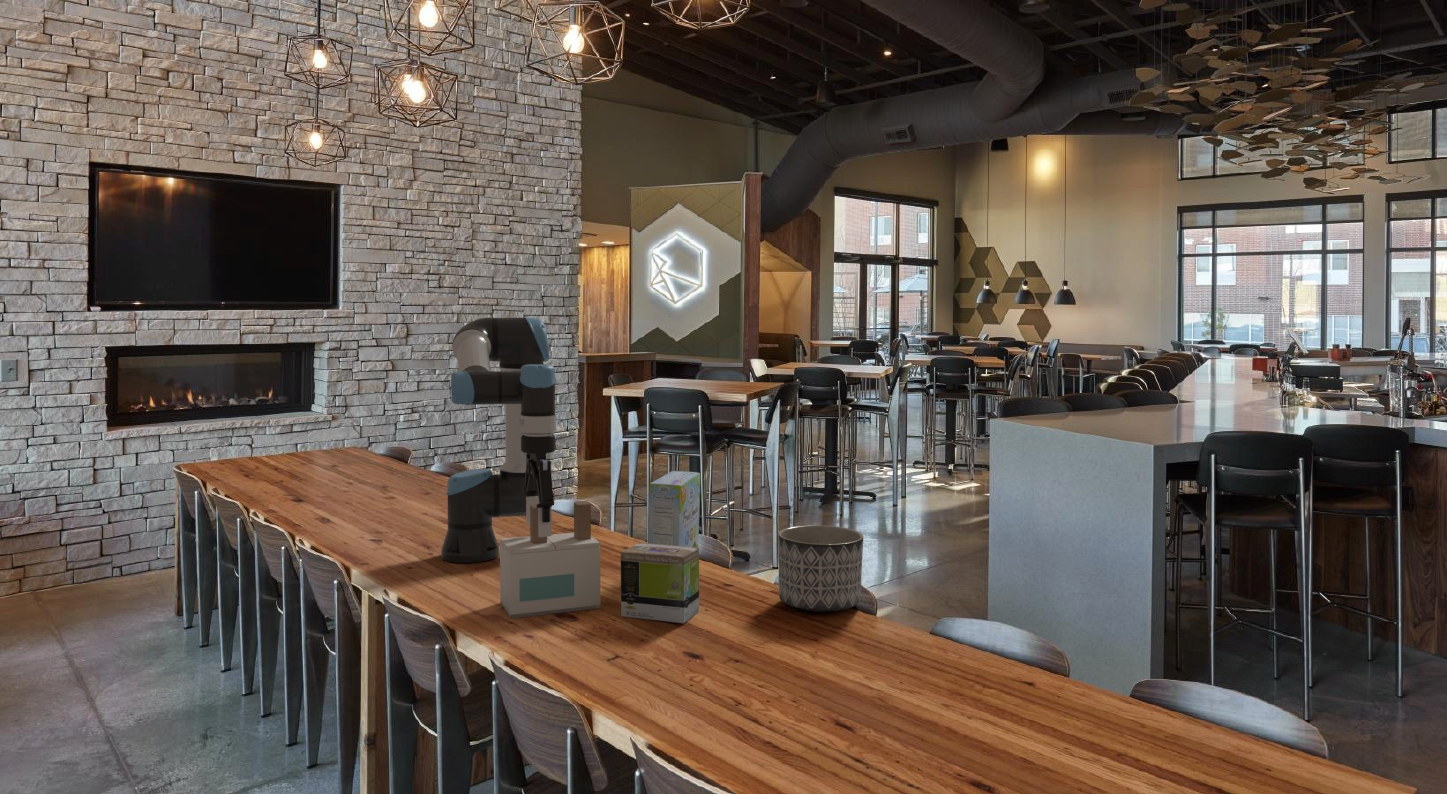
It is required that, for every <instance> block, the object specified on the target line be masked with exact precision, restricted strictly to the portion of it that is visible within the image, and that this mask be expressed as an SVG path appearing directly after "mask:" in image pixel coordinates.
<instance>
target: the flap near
mask: <svg viewBox="0 0 1447 794" xmlns="http://www.w3.org/2000/svg"><path fill="white" fill-rule="evenodd" d="M536 506H537V505H530V525H529V526H530V527H529V531H530V532H529V536H518V537H517V536H516V537H515V536H514V537H505V538H504V537H503V538H499V539H500V542H501V543H502V545H503V546H504V547H505V548H506V549H507V551H508V552H509V553H510V554H516V553H528V552H539V551H551V550H555V546H554V545H553V544H552V543H551V542H550V541H549V540H548V539H547V537H538V508H537V507H536Z"/></svg>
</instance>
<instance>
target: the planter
mask: <svg viewBox="0 0 1447 794" xmlns="http://www.w3.org/2000/svg"><path fill="white" fill-rule="evenodd" d="M777 537H778V538H777V540H778V541H777V543H778V544H777V545H778V546H777V547H778V552H777V553H778V557H777V558H778V597H779V600H780V601H781V602H783V603H784V604H786V606H790V607H792V608H795V609H800V610H804V611H807V612H813V613H831V612H832V613H833V612H837V611H842V610H847V609H851V608H853V607H855V606H857V605H858V604H859V602H860V601H861V593H862V591H861V590H862V571H863V569H862V568H863V552H864V551H863V549H864V535H863V533H861V532H859V531H857V530H855V529H852V528H846V527H843V526H834V525H824V524H823V525H822V524H821V525H820V524H814V525H813V524H812V525H808V524H807V525H796V526H795V525H794V526H789V527H786V528H783V529H780V530H779V531H778V533H777Z"/></svg>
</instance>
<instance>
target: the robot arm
mask: <svg viewBox="0 0 1447 794" xmlns="http://www.w3.org/2000/svg"><path fill="white" fill-rule="evenodd" d="M451 347H452V352H453V355H454V358H456V360H457V370H458V371H453V372H451V374H450V401H451V403H452V404H454V405H463V406H464V405H465V406H474V405H477V406H478V405H482V406H483V405H504V406H505V413H504V414H505V416H504V417H505V462H504V463H502V464H501V465H500V467H499V473H498V474H494V473H493V472H492V470H491V468H477V469H475V468H474V469H470V470H463V471H459V472H457V473H454V474H452V475H451V476H449V478H448V479H447V488H446V489H447V490H446V496H447V530H446V535H445V537H444V540H443V543H442V547H441V550H440V551H441V552H440V554H441V556H440V557H441V560H443V561H445V562H448V563H454V564H455V563H456V564H474V563H481V562H486V561H491V560H495V559H496V558H498V557H500V545H499V544H498V541H497V537H496V535H495V532H494V529H493V518H506V517H508V518H509V517H526V518H525V521H526V524H525V525H526V526H530V505H537V506H536V507H537V508H538V537H549V536H552V532H553V531H552V527H553V526H552V524H553V523H552V516H553V515H552V507H553V506H555V500H554V499H555V498H554V489H553V479H552V461H551V460H548V459H547V454H548V453H550V454H551V453H554V452H555V451H556V436H555V434H554V433H556V432H557V431H556V430H557V429H556V423H557V422H556V420H557V419H556V418H557V417H556V382H557V379H556V369H555V367H554V366H553V365H552V364H547V362H549V360H550V350H549V349H550V347H549V340H548V335H547V329H546V326H545V323H544V321H542V320H541V319H539V318H532V317H526V316H525V317H481V318H476V319H475V320H472V321H470V322H468V323H466V324H465V325H463V326H462V327H460V329H459V330H458V331H457V332H456V334H454V336H453V340H452V345H451ZM490 362H498V363H499V367H498V368H499V369H500V371H499V370H498V371H493V370H492V369H491V363H490ZM545 363H546V364H545Z"/></svg>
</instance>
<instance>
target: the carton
mask: <svg viewBox="0 0 1447 794" xmlns="http://www.w3.org/2000/svg"><path fill="white" fill-rule="evenodd" d="M591 523H592V504H591V503H590V502H589V501H586V500H585V501H573V532H567V533H555V534H552V536H549V537H547V539H548V540H549V541H550V542H551V543H552V544H553V545H554V546H555V550H551V551H539V552H528V553H516V554H510V553H509V552H508V551H507V549H506V548H505V547H504V546H503V545H502V543H501V541H500V542H499V573H500V574H499V583H500V584H499V589H500V593H499V594H500V595H499V596H500V597H499V598H500V599H499V601H500V605H501V607H502V608H503V609H504V611H505V612H506V614H507V615H508V617H509V619H511V620H512V619H518V618H528V617H535V616H543V615H544V616H545V615H552V614H561V613H570V612H579V611H589V610H598V609H601V543H600V542H599V541H598V540H597V539H596V538H595V537H593V536H592V524H591Z"/></svg>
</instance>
